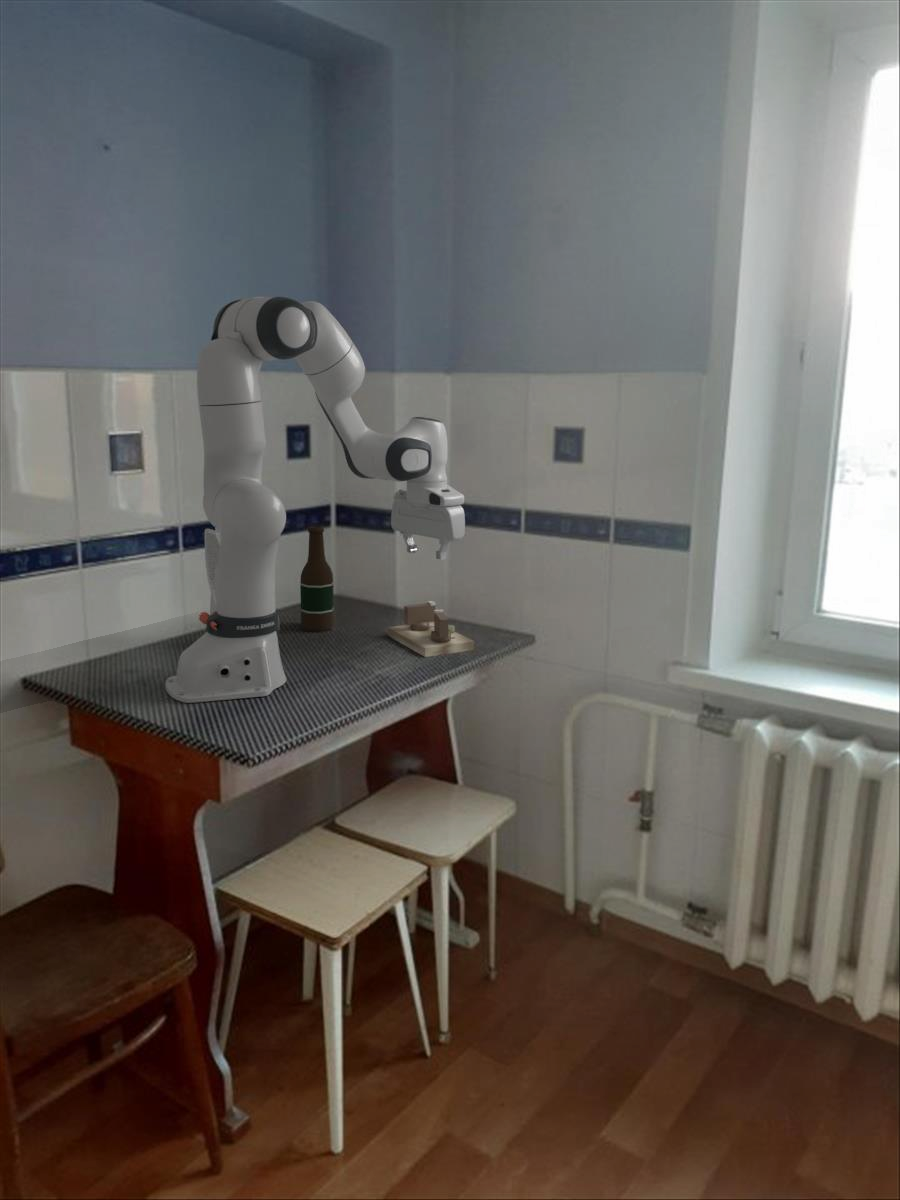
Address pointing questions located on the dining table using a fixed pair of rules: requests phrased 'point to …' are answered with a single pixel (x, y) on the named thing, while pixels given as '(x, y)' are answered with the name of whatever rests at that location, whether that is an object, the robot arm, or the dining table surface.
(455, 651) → the control panel
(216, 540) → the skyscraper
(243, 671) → the robot arm
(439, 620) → the knob near
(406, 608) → the knob far
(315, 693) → the dining table surface
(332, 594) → the beer bottle
